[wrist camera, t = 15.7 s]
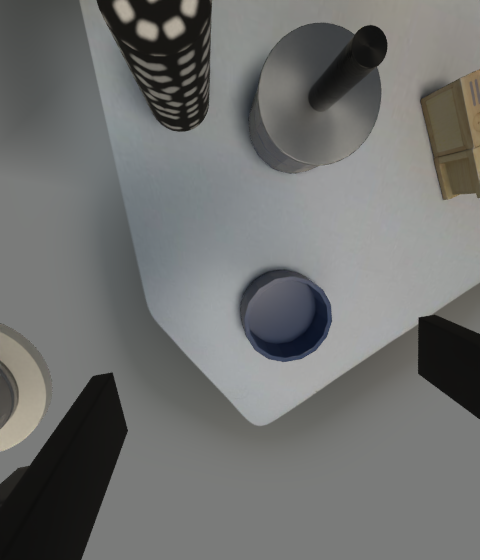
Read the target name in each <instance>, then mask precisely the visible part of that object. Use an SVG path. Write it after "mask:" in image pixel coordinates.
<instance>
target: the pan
mask: <svg viewBox="0 0 480 560" xmlns="http://www.w3.org/2000/svg"><path fill="white" fill-rule="evenodd" d="M240 312H241V319H242V325H243V328H244V331H245V334H246V337H247V338H248V340H249V341H250V343H251V345H252V346H253V348H254V349H255V350H256V351H257V352H259V353H260V354H262V355H263V356H265V357H266V358H268V359H271V360H277V361H282V362H287V361H292V360H298V359H302V358H304V357H305V356H307V355H309V354H310V353H312V352H314V351H316V349H317V348H318V347H319V346H320V345H321V343H322V342H323V341H324V340H325V338H326V337H327V334H328V331H329V328H330V325H331V322H332V315H331V304H330V302H329V300H328V298H327V296H326V294H325V293H324V291H323V290H322V289H321V288H320V287H318V286H317V285H316V284H315V283H313V282H312V281H311V280H309V279H308V278H306V277H304V276H303V275H301V274H299V273H295V272H292V271H287V270H278V271H272V272H268V273H266V274H264V275H262V276H260V277H259V278H257V279H256V280H255V281H254V282H253V283H252V284H251V285H250V286H249V287H248V289H247V290H246V292H245V294H244V296H243V299H242V302H241V308H240Z"/></svg>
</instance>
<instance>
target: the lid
mask: <svg viewBox="0 0 480 560" xmlns="http://www.w3.org/2000/svg"><path fill="white" fill-rule="evenodd" d="M386 52H387V39H386V36H385V34H384V33H383V31H382V30H381V29H380V28H378V27H376V26H373V25H368V26H364V27H362V28H361V29H359V30H358V31H357V33H356V34H355V35H354V34H353V33H352V32H350V31H349V30H347V29H345V28H343V27H341V26H337V25H334V24H329V23H313V24H307V25H304V26H301V27H299V28H297V29H295V30H293V31H291V32H290V33H288V34H287V35H286V36H284V37H283V38H282V39H281V40H280V41H279V42H278V43H277V44H276V45H275V47H274V48H273V49H272V51H271V52H270V54H269V56H268V57H267V59H266V61H265V64H264V66H263V68H262V72H261V75H260V79H259V84H258V94H257V98H258V109H259V115H260V118H261V122H262V125H263V127H264V129H265V132H266V133H267V135H268V137H269V138H270V140H271V141H272V143H273V144H274V145H275V146H276V147H277V148H278V149H279V150H280V151H281V152H282V153H283V154H285V155H286V156H287V157H289V158H291V159H292V160H294V161H297V162H299V163H302V164H307V165H315V166H319V165H327V164H332V163H335V162H338V161H340V160H342V159H344V158H346V157H348V156H349V155H351V154H352V153H354V152H355V151H356V150H357V149H358V148H359V147H360V146H361V145H362V144H363V143H364V141H365V140H366V139H367V137H368V136H369V134H370V133H371V131H372V129H373V127H374V125H375V122H376V120H377V117H378V113H379V109H380V102H381V82H380V76H379V72H378V69H377V66H378V65H379V64H380V63H381V62H382V61H383V60H384V58H385V55H386Z"/></svg>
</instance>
